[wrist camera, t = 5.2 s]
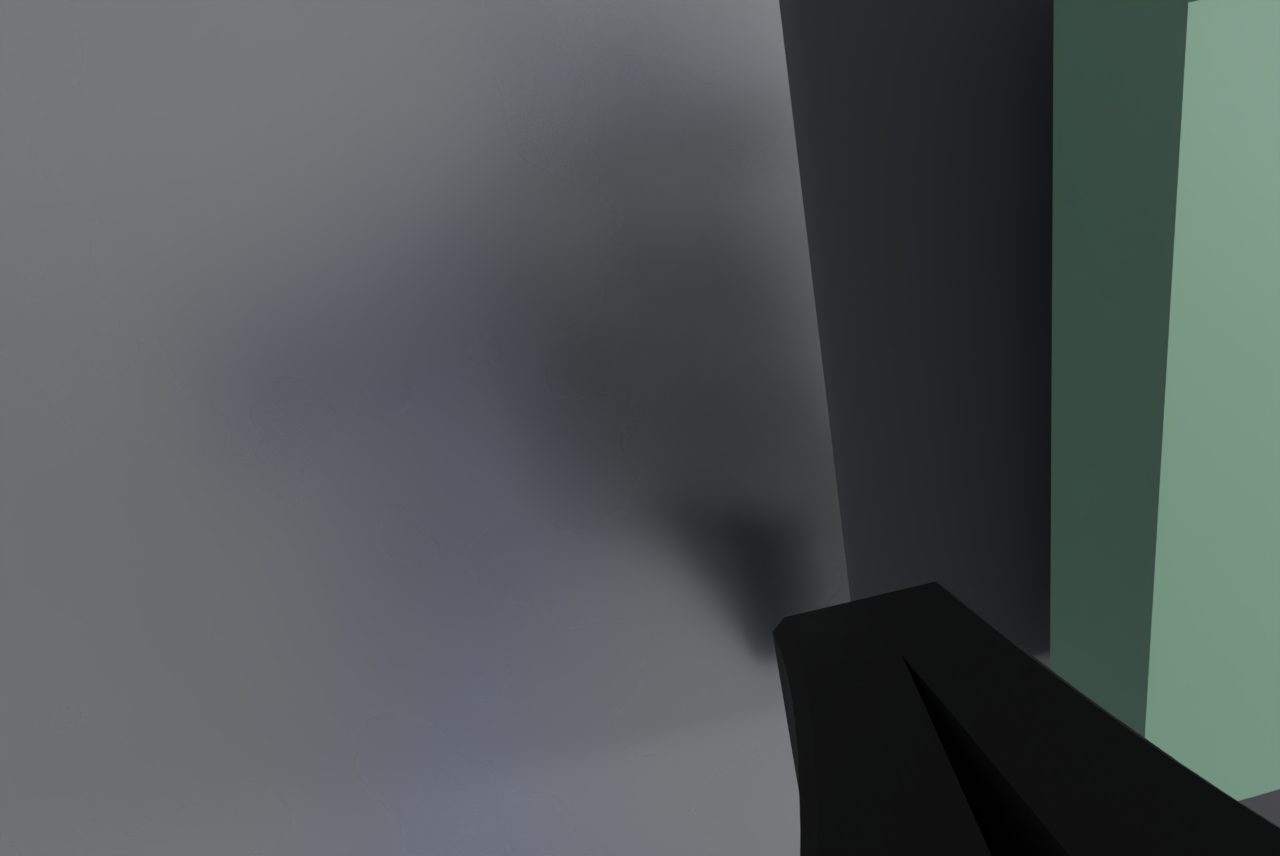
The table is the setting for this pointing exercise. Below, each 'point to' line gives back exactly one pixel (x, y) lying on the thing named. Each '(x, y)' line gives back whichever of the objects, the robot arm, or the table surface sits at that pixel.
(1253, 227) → the thick sage green slab
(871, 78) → the mat
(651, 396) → the deck
